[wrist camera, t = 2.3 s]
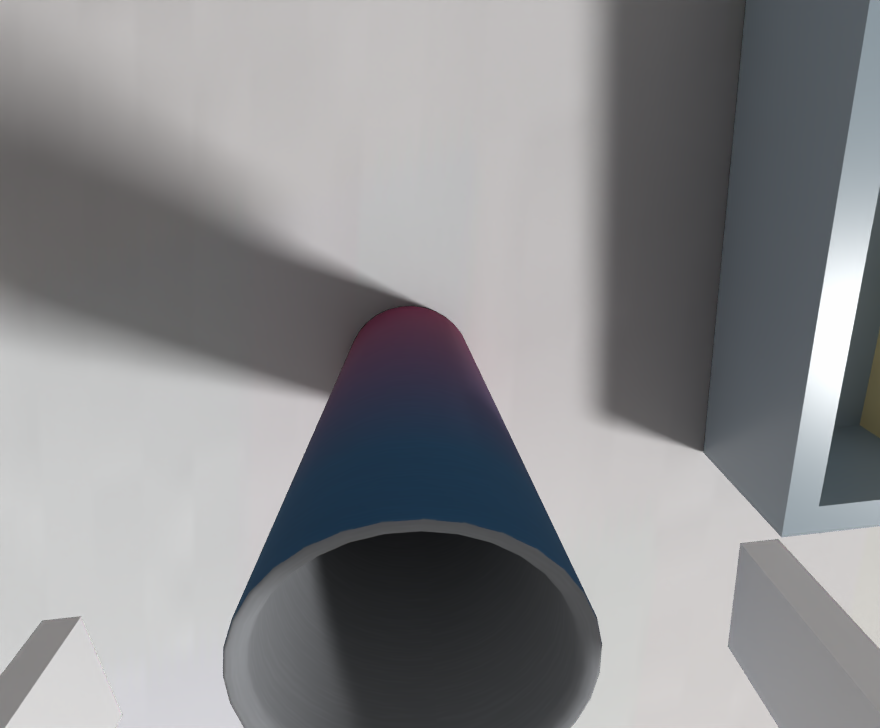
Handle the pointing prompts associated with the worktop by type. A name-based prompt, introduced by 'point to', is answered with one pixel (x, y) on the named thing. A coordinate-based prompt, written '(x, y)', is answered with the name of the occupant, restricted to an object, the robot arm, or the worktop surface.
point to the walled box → (802, 271)
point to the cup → (411, 561)
